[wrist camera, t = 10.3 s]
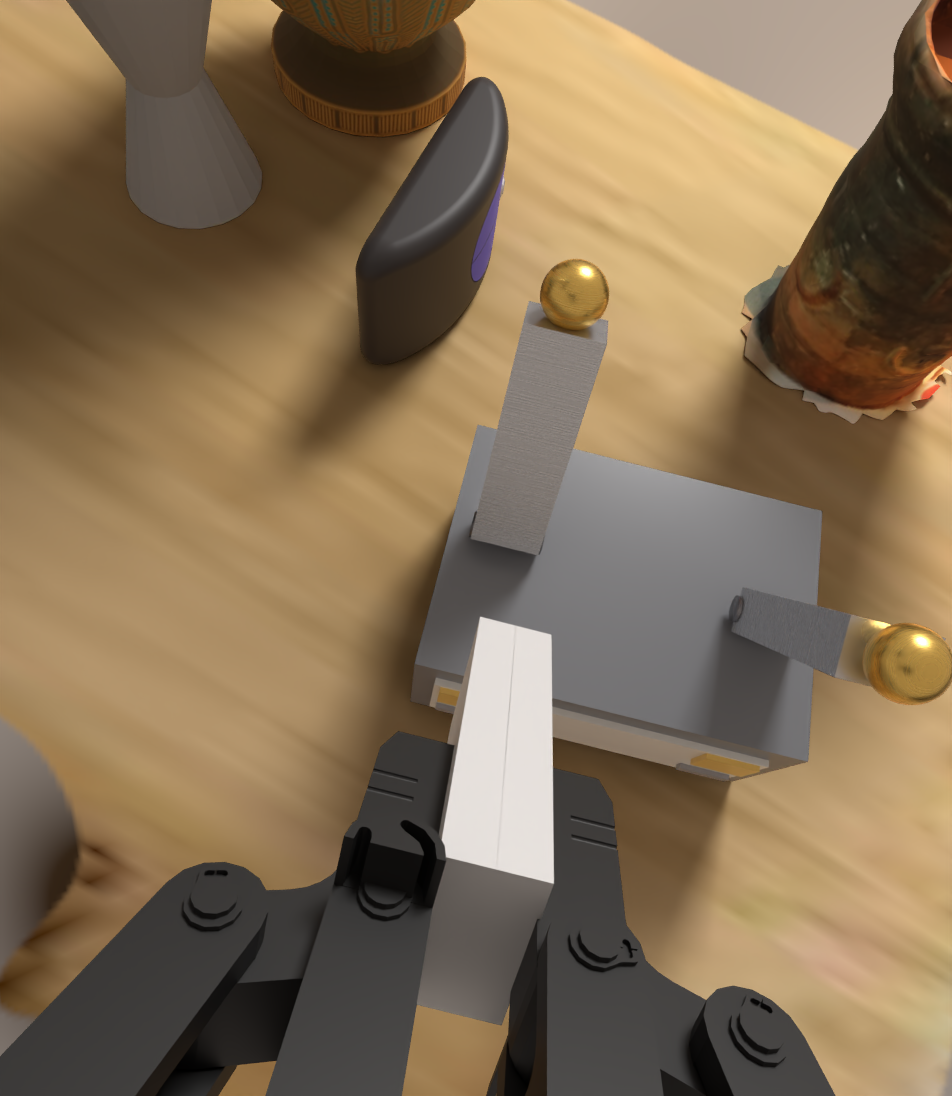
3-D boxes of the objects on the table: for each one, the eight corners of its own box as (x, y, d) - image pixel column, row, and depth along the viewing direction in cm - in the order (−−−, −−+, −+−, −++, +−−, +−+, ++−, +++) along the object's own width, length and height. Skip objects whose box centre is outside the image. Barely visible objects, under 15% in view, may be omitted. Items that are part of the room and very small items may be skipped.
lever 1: (465, 551, 34) (535, 262, 26) (473, 518, 36) (541, 239, 28) (536, 569, 34) (629, 286, 26) (541, 535, 36) (629, 261, 28)
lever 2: (723, 633, 35) (864, 699, 22) (736, 580, 35) (886, 616, 22) (792, 650, 35) (974, 726, 22) (806, 598, 35) (996, 643, 22)
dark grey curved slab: (424, 395, 47) (431, 289, 39) (355, 367, 48) (346, 254, 39) (522, 214, 54) (547, 86, 45) (460, 189, 54) (473, 58, 45)
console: (407, 711, 40) (411, 676, 33) (463, 497, 45) (477, 424, 37) (730, 792, 40) (807, 774, 33) (751, 569, 45) (822, 511, 38)
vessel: (879, 482, 48) (1172, 231, 30) (695, 343, 51) (858, 38, 33) (988, 350, 53) (1296, 66, 35) (814, 231, 56) (1012, -89, 38)
